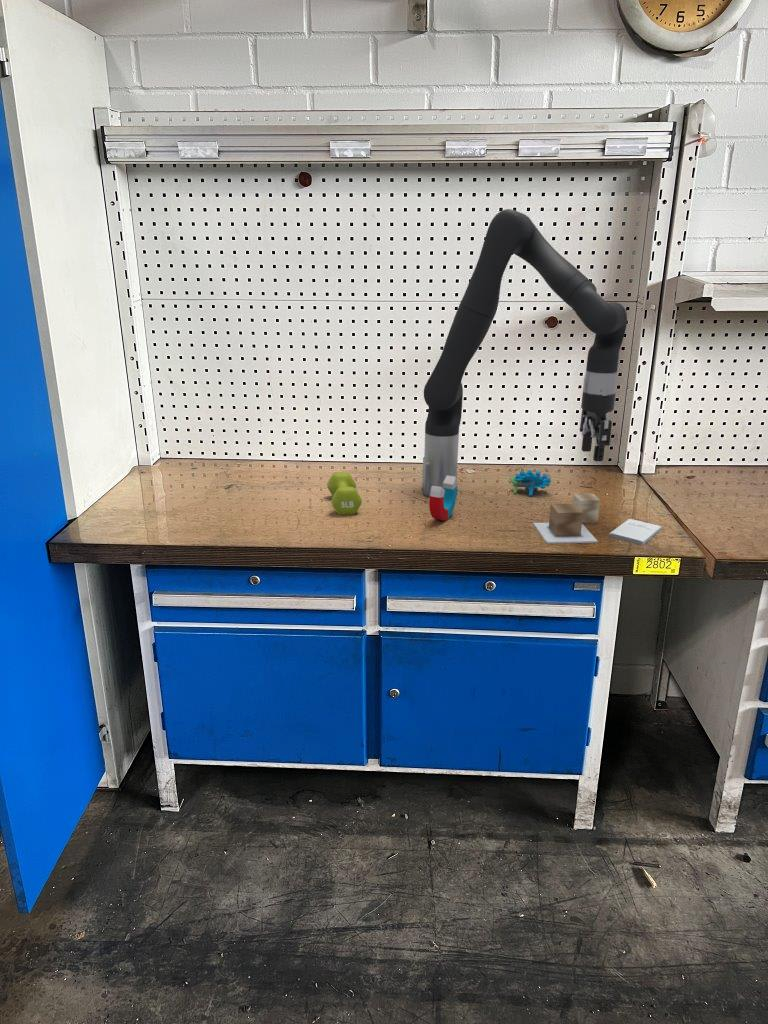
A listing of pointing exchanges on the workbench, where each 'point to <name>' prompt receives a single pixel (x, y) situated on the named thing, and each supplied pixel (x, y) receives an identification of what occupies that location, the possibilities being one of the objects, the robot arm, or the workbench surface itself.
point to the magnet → (443, 499)
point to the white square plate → (551, 538)
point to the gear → (530, 481)
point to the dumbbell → (344, 493)
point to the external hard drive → (635, 531)
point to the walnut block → (565, 520)
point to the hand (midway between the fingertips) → (591, 456)
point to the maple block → (588, 507)
